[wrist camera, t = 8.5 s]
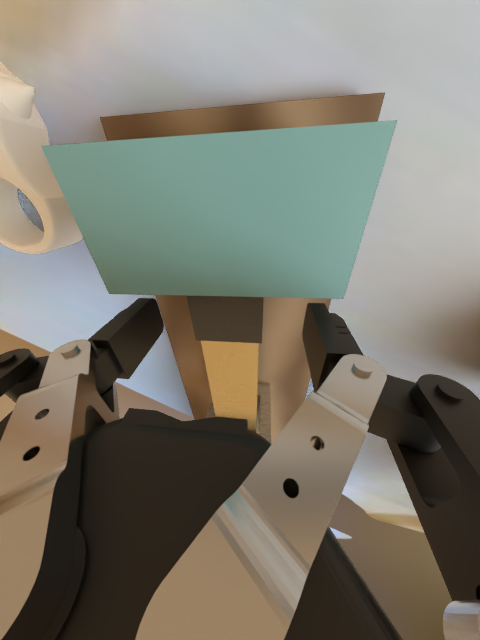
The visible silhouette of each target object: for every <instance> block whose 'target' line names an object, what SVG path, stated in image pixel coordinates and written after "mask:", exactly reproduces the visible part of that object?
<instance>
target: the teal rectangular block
mask: <svg viewBox="0 0 480 640" xmlns="http://www.w3.org/2000/svg"><path fill="white" fill-rule="evenodd" d="M396 123H397V120H393V121H379V122H365V123H352V124H338V125H324V126H310V127H296V128H282V129H268V130H254V131H241V132H227V133H213V134H199V135H185V136H171V137H157V138H143V139H130V140H116V141H102V142H88V143H74V144H60V145H46V146H41V147H42V150H43V152H44V154H45V156H46V158H47V160H48V163H49V165H50V167H51V169H52V171H53V173H54V176H55V178H56V180H57V182H58V184H59V186H60V188H61V191H62V193H63V195H64V197H65V199H66V201H67V204H68V206H69V208H70V210H71V212H72V214H73V217H74V219H75V221H76V223H77V225H78V227H79V230H80V232H81V234H82V236H83V238H84V240H85V243H86V245H87V247H88V249H89V251H90V253H91V255H92V258H93V260H94V262H95V264H96V266H97V268H98V271H99V273H100V275H101V277H102V279H103V281H104V284H105V286H106V288H107V290H108V292H109V294H141V295H188V296H235V297H282V298H329V299H343V298H344V295H345V292H346V288H347V285H348V282H349V278H350V275H351V272H352V268H353V265H354V262H355V258H356V255H357V252H358V249H359V245H360V242H361V239H362V235H363V232H364V229H365V225H366V222H367V219H368V215H369V212H370V209H371V205H372V202H373V199H374V196H375V192H376V189H377V186H378V182H379V179H380V176H381V172H382V169H383V166H384V162H385V159H386V156H387V152H388V149H389V146H390V142H391V139H392V136H393V133H394V129H395V126H396Z"/></svg>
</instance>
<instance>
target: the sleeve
mask: <svg viewBox="0 0 480 640" xmlns="http://www.w3.org/2000/svg"><path fill="white" fill-rule="evenodd" d="M211 417H216V416H215V411H214V406H213V401H212V397H211V401H210V405H209V409H208V413H207V417H206V418H211ZM256 433H257V434H259V435H261V436H262V437H264V438H265V439H266V440H268V441H269V442H270V443H271V401H270V384H267V383H258V399H257V431H256Z"/></svg>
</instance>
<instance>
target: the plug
mask: <svg viewBox="0 0 480 640" xmlns="http://www.w3.org/2000/svg"><path fill="white" fill-rule="evenodd" d="M186 296H187V301H188V305H189V310H190V315H191V319H192V324H193V329H194V333H195V338H196V340H199V341H201V345H202V350H203V355H204V360H205V365H206V370H207V375H208V380H209V385H210V391H211V396H212V401H213V406H214V411H215V416H216V417H228V418H238V419H248V429H249V430H251V431H254V432H256V431H257V399H258V363H259V343H262V328H263V302H264V297H235V296H188V295H186Z"/></svg>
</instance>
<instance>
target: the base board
mask: <svg viewBox="0 0 480 640" xmlns="http://www.w3.org/2000/svg"><path fill="white" fill-rule="evenodd" d="M384 95H385V93H374V94H363V95H351V96H340V97H328V98H317V99H305V100H294V101H282V102H271V103H259V104H248V105H236V106H225V107H213V108H202V109H190V110H179V111H167V112H156V113H144V114H133V115H121V116H110V117H100V119H101V122H102V125H103V129H104V132H105V135H106V138H107V141H116V140H130V139H143V138H157V137H171V136H185V135H199V134H213V133H227V132H241V131H254V130H268V129H282V128H296V127H310V126H324V125H338V124H352V123H365V122H378V118H379V114H380V110H381V106H382V103H383V99H384ZM156 298H157V301H158V304H159V307H160V310H161V314H162V317H163V320H164V323H165V326H166V330H167V333H168V336H169V339H170V342H171V346H172V349H173V352H174V355H175V358H176V362H177V365H178V368H179V371H180V374H181V377H182V381H183V384H184V387H185V390H186V393H187V397H188V400H189V403H190V406H191V409H192V413H193V416H194V419H195V420H198V419H204V418H206V417H207V413H208V409H209V405H210V401H211V397H212V396H211V391H210V385H209V380H208V375H207V370H206V365H205V360H204V355H203V350H202V345H201V341H199V340H196V338H195V333H194V329H193V324H192V319H191V315H190V310H189V305H188V301H187V296H186V295H156ZM330 301H331V299H329V298H282V297H264V302H263V328H262V343H259V363H258V383H267V384H270V401H271V444H272V443H273V442H274V441H275V439H276V438H277V437H278V435H279V434H280V433H281V431H282V430H283V429H284V427H285V426H286V425H287V423H288V422H289V421H290V419H291V418H292V417H293V415H294V414H295V413H296V411H297V410H298V409H299V407H300V406H301V405H302V403H303V402H304V401H305V397H306V393H307V389H308V385H309V382H310V378H311V374H310V370H309V365H308V361H307V357H306V352H305V348H304V343H303V338H302V330H303V324H304V318H305V313H306V307H307V304H308V303H325V305H326V307H327V309H329V305H330Z"/></svg>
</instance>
